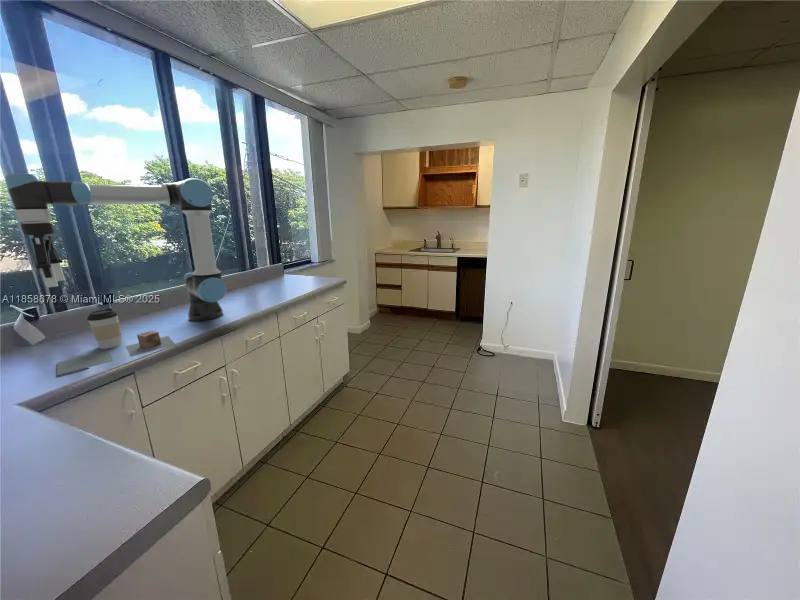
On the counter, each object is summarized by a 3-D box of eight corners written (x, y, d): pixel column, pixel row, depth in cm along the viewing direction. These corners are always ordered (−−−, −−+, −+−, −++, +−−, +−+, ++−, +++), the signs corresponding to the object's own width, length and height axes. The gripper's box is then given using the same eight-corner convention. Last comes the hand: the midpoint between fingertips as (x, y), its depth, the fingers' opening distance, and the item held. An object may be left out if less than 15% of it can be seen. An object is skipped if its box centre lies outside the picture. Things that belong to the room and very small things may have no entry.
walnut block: (153, 342, 132) (150, 330, 130) (161, 343, 130) (158, 332, 128) (140, 346, 127) (136, 334, 126) (147, 348, 125) (144, 336, 124)
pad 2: (168, 337, 138) (167, 336, 138) (176, 346, 128) (175, 344, 128) (126, 347, 129) (125, 346, 128) (131, 357, 119) (130, 356, 119)
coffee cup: (108, 351, 125) (97, 314, 121) (90, 350, 127) (78, 313, 123) (131, 342, 133) (122, 307, 129) (114, 341, 135) (104, 307, 131)
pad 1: (109, 351, 125) (109, 350, 125) (113, 362, 116) (112, 360, 115) (58, 363, 116) (57, 362, 116) (57, 376, 106) (56, 375, 106)
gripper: (30, 222, 118) (49, 280, 123) (8, 223, 99) (32, 291, 104) (59, 221, 122) (76, 277, 128) (44, 222, 103) (65, 287, 109)
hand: (56, 283), depth 116 cm, fingers open, 13 cm apart
